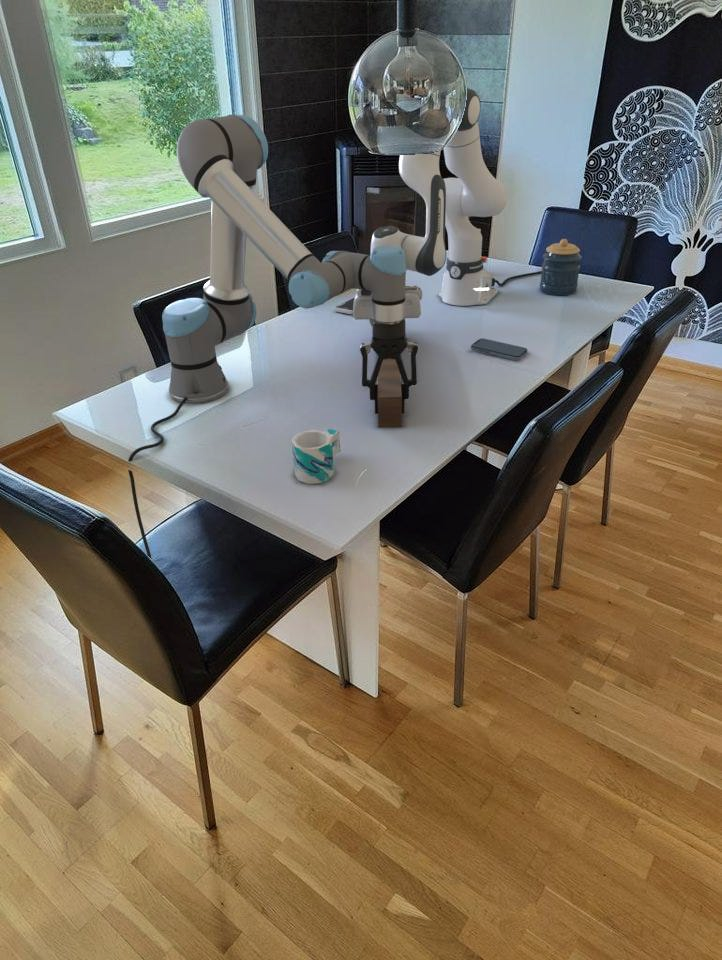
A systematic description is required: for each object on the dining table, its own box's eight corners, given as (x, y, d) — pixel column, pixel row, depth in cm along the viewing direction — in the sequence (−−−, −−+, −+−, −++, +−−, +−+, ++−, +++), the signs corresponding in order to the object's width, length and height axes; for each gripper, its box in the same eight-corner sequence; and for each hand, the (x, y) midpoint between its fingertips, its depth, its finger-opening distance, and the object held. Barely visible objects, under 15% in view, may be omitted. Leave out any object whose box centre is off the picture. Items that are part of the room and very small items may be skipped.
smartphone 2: (518, 357, 186) (469, 345, 193) (518, 362, 187) (469, 351, 194) (528, 347, 191) (480, 337, 198) (528, 353, 192) (480, 342, 199)
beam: (402, 426, 158) (401, 396, 153) (378, 427, 158) (377, 397, 154) (396, 331, 210) (395, 307, 206) (378, 332, 210) (377, 307, 206)
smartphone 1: (376, 298, 233) (351, 311, 223) (376, 302, 234) (352, 315, 224) (358, 295, 237) (333, 307, 227) (358, 299, 238) (333, 311, 228)
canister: (550, 297, 232) (557, 245, 222) (532, 287, 242) (537, 236, 233) (584, 293, 235) (591, 241, 225) (564, 283, 245) (571, 233, 236)
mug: (287, 476, 140) (283, 442, 136) (320, 451, 149) (318, 418, 144) (319, 487, 137) (316, 452, 132) (351, 460, 145) (350, 426, 140)
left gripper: (429, 312, 154) (426, 403, 166) (348, 314, 154) (351, 404, 167) (431, 323, 147) (428, 417, 160) (346, 325, 148) (350, 418, 161)
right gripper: (421, 282, 197) (421, 327, 205) (352, 284, 198) (354, 329, 205) (422, 288, 192) (422, 335, 199) (351, 290, 193) (353, 336, 200)
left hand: (389, 410), depth 163 cm, fingers closed on beam, 6 cm apart
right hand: (387, 332), depth 202 cm, fingers closed on beam, 5 cm apart
